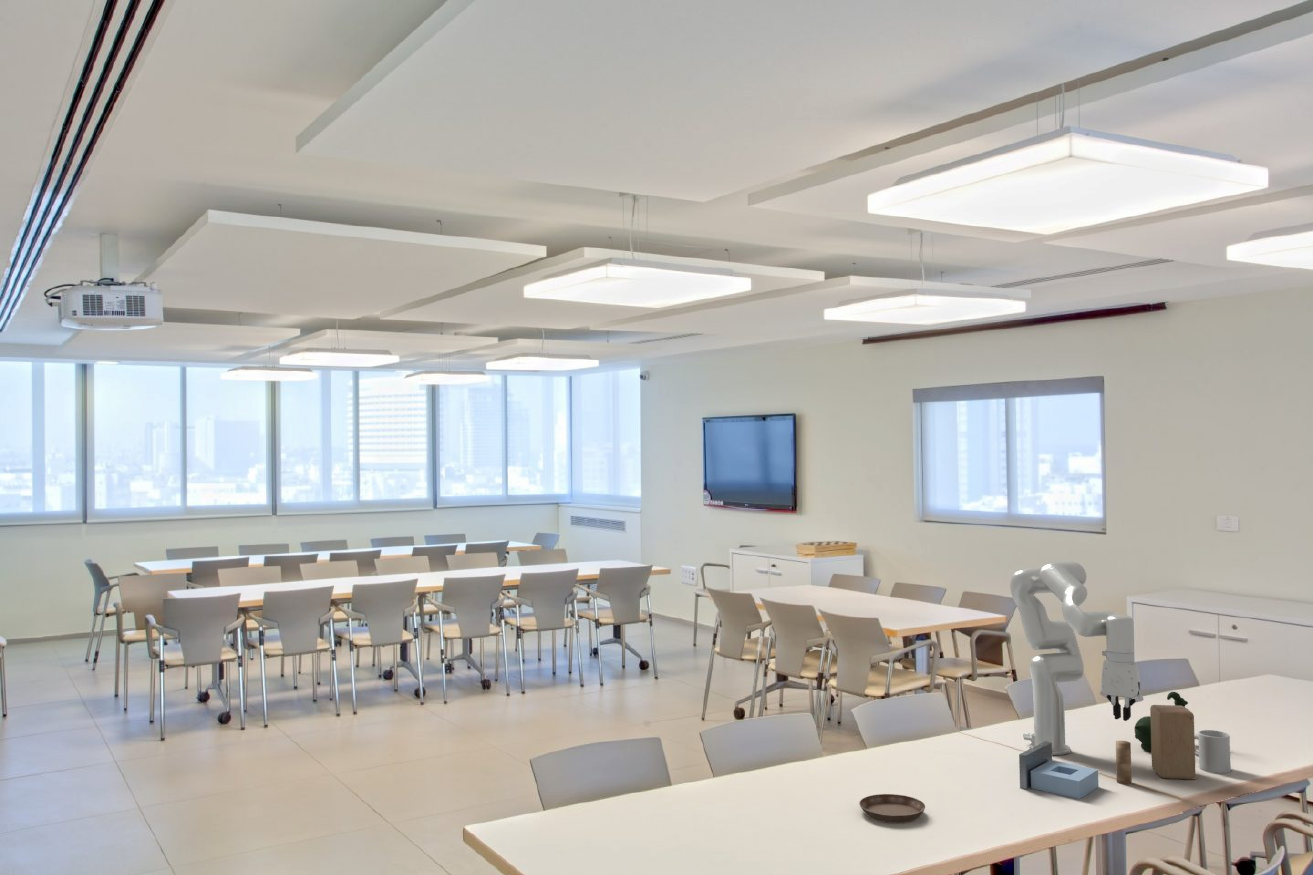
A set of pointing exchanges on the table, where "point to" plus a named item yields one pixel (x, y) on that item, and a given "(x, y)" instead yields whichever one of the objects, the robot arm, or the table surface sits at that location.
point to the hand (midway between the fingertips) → (1122, 718)
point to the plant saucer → (892, 808)
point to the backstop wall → (1033, 761)
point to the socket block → (1064, 779)
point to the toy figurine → (1145, 723)
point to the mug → (1213, 751)
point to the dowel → (1123, 762)
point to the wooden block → (1172, 741)
